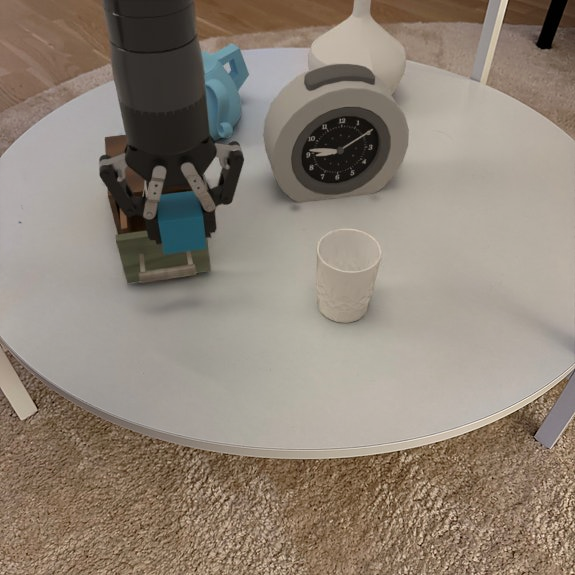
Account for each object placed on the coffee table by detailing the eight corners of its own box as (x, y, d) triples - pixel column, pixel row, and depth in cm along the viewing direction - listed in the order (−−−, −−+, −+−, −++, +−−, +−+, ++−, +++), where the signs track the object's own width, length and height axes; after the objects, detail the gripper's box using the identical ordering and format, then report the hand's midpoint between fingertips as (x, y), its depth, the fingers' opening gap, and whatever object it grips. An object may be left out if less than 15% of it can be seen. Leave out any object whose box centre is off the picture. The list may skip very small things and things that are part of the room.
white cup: (381, 297, 81) (392, 242, 74) (356, 336, 77) (364, 281, 69) (330, 275, 84) (335, 220, 77) (302, 311, 79) (305, 257, 72)
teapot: (250, 100, 117) (247, 29, 107) (236, 157, 104) (230, 82, 94) (153, 95, 118) (141, 24, 108) (127, 150, 105) (110, 76, 95)
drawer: (216, 296, 80) (211, 253, 74) (129, 310, 78) (117, 267, 72) (198, 210, 92) (192, 167, 87) (122, 220, 90) (112, 178, 85)
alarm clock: (272, 205, 95) (271, 89, 80) (263, 177, 100) (261, 63, 85) (400, 189, 98) (421, 74, 84) (385, 163, 103) (403, 50, 89)
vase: (419, 99, 118) (437, -3, 104) (356, 133, 109) (367, 28, 95) (350, 66, 127) (358, -31, 113) (287, 96, 118) (288, -6, 104)
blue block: (164, 254, 62) (158, 222, 59) (161, 227, 65) (155, 195, 62) (206, 249, 63) (203, 216, 60) (201, 222, 66) (197, 189, 63)
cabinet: (207, 235, 90) (201, 183, 83) (121, 248, 88) (107, 195, 81) (194, 178, 99) (188, 127, 92) (117, 188, 97) (104, 136, 90)
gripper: (74, 117, 48) (115, 270, 60) (251, 100, 50) (255, 250, 62) (76, 73, 53) (113, 222, 65) (236, 59, 55) (243, 206, 68)
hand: (183, 235), depth 64 cm, fingers closed on blue block, 4 cm apart
